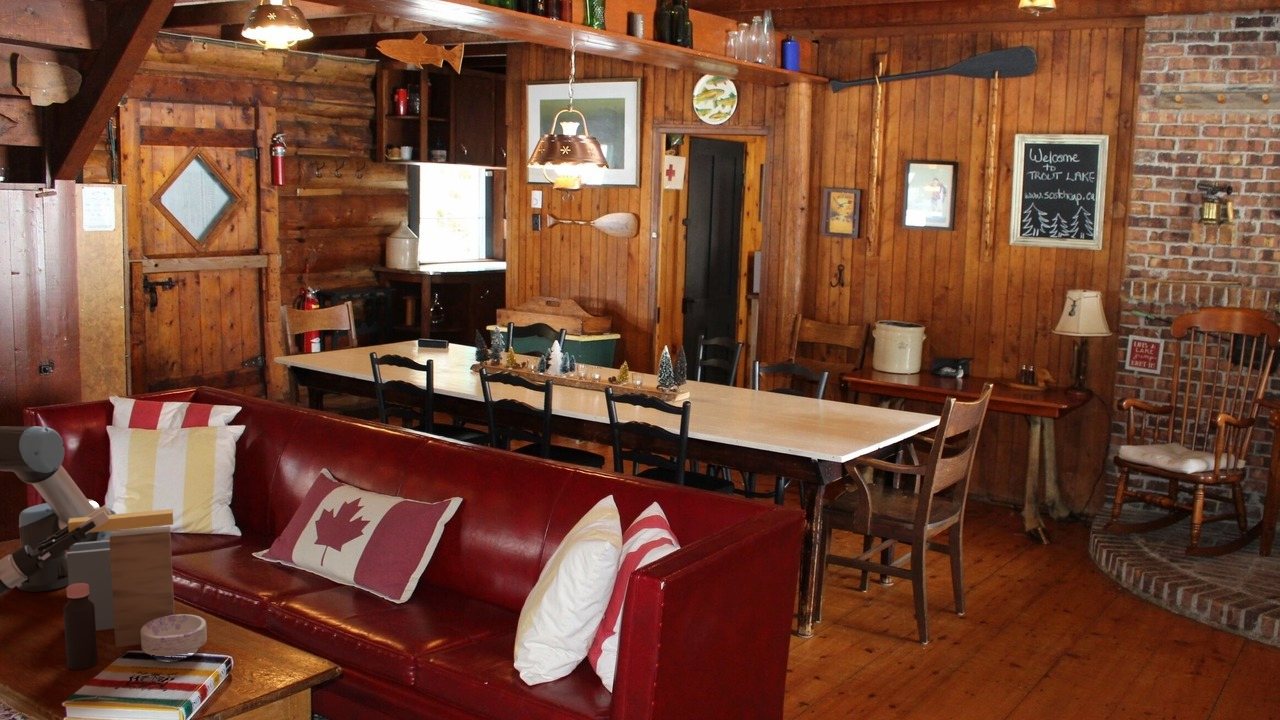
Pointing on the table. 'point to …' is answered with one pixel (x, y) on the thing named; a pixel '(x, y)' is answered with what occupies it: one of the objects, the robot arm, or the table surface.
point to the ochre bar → (128, 520)
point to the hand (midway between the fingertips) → (107, 512)
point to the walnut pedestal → (140, 580)
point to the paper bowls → (173, 635)
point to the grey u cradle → (94, 577)
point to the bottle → (80, 628)
